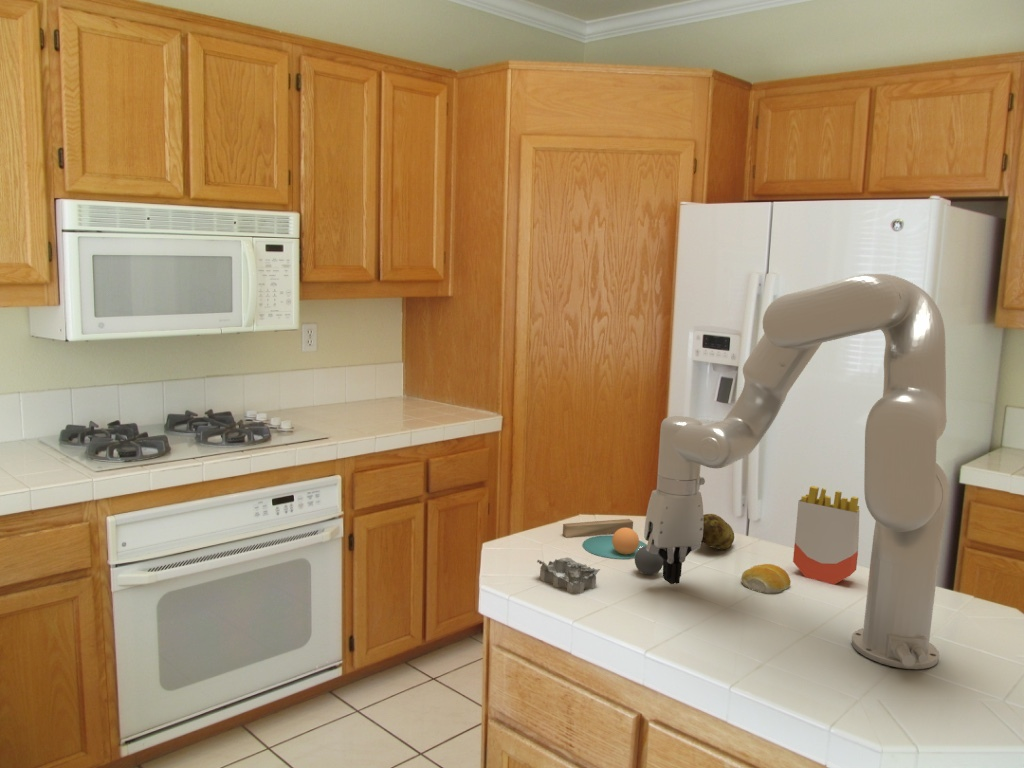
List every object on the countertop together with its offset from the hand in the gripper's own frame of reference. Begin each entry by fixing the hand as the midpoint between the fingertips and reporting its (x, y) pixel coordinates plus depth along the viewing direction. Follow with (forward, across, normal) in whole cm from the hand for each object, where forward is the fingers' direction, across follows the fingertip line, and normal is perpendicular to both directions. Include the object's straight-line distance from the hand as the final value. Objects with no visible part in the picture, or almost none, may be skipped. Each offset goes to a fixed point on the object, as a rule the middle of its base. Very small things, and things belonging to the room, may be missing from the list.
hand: (671, 581), depth 155 cm
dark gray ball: (-1, 0, -8) cm, 8 cm away
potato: (+2, -21, -18) cm, 27 cm away
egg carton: (+2, +17, -8) cm, 19 cm away
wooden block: (+2, 0, -32) cm, 32 cm away
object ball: (-1, 0, -19) cm, 19 cm away
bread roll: (+2, -19, +3) cm, 19 cm away
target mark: (+2, 0, -23) cm, 23 cm away
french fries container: (+2, -32, +2) cm, 33 cm away
